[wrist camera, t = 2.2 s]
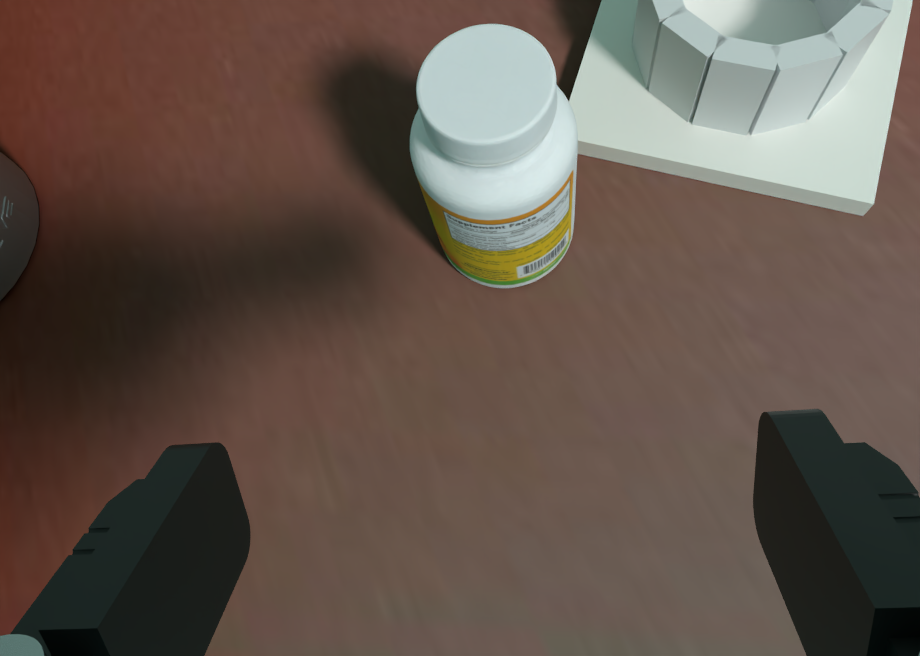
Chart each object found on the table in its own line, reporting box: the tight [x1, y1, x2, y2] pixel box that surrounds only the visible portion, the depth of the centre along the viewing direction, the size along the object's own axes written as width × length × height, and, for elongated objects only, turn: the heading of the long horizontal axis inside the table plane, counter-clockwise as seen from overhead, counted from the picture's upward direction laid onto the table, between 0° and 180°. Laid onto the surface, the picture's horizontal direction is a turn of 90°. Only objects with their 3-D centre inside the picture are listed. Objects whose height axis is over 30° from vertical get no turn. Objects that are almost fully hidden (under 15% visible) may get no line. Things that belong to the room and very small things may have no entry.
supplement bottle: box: [410, 24, 578, 288], centre depth 25 cm, size 5×5×10 cm
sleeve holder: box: [569, 0, 913, 216], centre depth 29 cm, size 12×12×5 cm
